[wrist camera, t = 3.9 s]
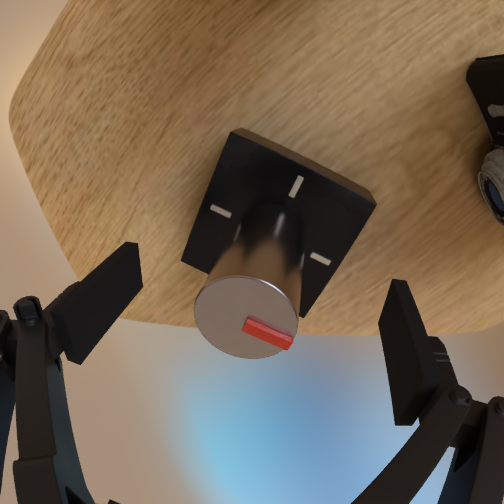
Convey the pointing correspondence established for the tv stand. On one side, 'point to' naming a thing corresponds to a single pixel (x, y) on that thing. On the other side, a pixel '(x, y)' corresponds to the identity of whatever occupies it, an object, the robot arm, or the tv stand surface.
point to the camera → (491, 127)
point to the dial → (255, 285)
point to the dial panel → (288, 194)
